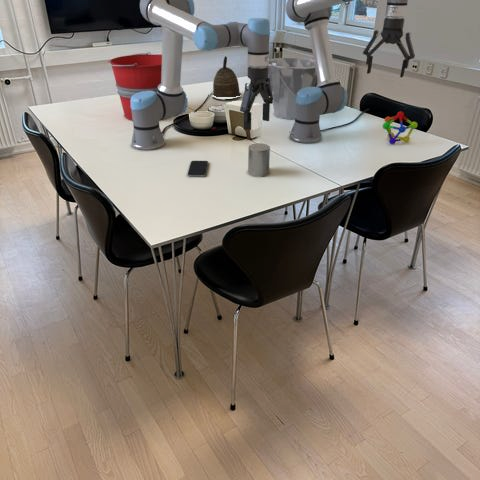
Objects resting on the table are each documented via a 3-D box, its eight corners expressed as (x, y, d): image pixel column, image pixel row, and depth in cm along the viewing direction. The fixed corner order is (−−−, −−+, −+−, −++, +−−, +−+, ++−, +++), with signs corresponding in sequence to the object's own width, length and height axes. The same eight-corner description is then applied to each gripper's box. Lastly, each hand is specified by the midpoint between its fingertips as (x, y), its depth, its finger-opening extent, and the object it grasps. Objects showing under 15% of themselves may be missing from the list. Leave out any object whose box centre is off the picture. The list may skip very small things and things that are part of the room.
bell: (227, 105, 294) (202, 96, 282) (238, 66, 289) (213, 55, 277) (243, 108, 280) (217, 98, 268) (255, 66, 275) (229, 55, 263)
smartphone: (187, 174, 176) (191, 160, 188) (187, 176, 176) (191, 162, 189) (205, 175, 176) (208, 160, 188) (205, 176, 176) (208, 162, 189)
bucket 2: (291, 125, 232) (295, 70, 217) (253, 113, 251) (254, 61, 236) (327, 115, 249) (333, 62, 234) (289, 104, 267) (292, 55, 253)
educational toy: (377, 146, 209) (379, 114, 202) (384, 138, 219) (386, 107, 211) (411, 149, 202) (415, 116, 195) (417, 141, 212) (420, 109, 204)
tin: (243, 172, 180) (244, 147, 174) (257, 166, 185) (257, 141, 179) (259, 178, 175) (260, 152, 169) (273, 172, 180) (274, 146, 175)
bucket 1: (123, 105, 263) (116, 51, 247) (182, 106, 262) (179, 52, 247) (107, 123, 234) (97, 63, 218) (173, 124, 233) (168, 64, 217)
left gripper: (248, 73, 148) (247, 135, 159) (283, 62, 166) (281, 118, 177) (229, 71, 151) (230, 131, 162) (266, 60, 169) (264, 115, 180)
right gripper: (360, 16, 174) (352, 73, 185) (426, 20, 163) (414, 80, 174) (365, 14, 179) (358, 70, 190) (430, 18, 168) (418, 76, 180)
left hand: (256, 125), depth 170 cm, fingers open, 13 cm apart
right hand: (384, 75), depth 182 cm, fingers open, 13 cm apart
